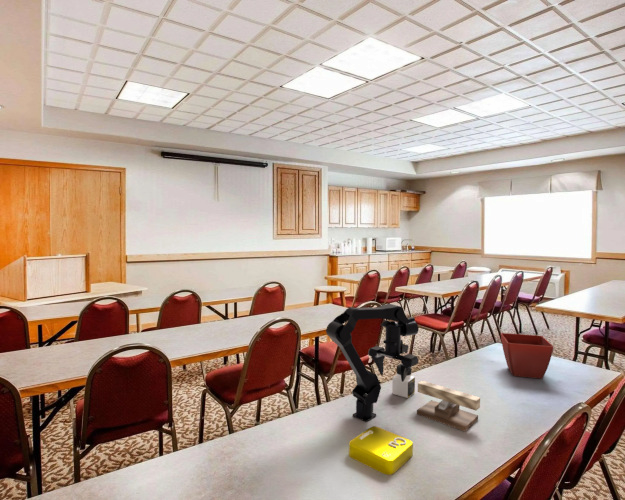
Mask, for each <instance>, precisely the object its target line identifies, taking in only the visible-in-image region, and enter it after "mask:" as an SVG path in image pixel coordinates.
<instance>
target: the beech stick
mask: <svg viewBox="0 0 625 500" xmlns="http://www.w3.org/2000/svg"><path fill="white" fill-rule="evenodd" d="M417 393H419V394H423V395H426V396H429V397H431V398H432V397H433V398H436V399H439V400H441V401H442V400H444V401H447V402H450V403H454V404H457V405H459V407H460V406H461V407H463V408H467V409H469V410H473V411H478V410H479V409H480V408H481V397H479V396H476V395H472V394H469V393H466V392H462V391H460V390H457V389H456V390H455V389H451V388H449V387H446V386H442V385H438V384H436V383H432V382H428V381H425V380H420V381H419V382H417Z"/></svg>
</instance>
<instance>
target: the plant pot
mask: <svg viewBox="0 0 625 500" xmlns="http://www.w3.org/2000/svg"><path fill="white" fill-rule="evenodd" d="M500 339H501V341H500V342H501V346H502V350H503V355H504V358H505V362H506V365H507V368H508V370H509V372H510V373H511V374H512V376H513V377H521V378H533V379H540V380H541V379H543V378H544V376H545V375H546V372H547V370H548V367H549V365H550V362H551V359H552V355H553V352H554V351H553V350H554V345H552V343H551V342H549V341H548V340H547V339H546V338H545V337H544V336H542V335H534V334H522V333H521V334H519V333H508V332H507V333H505V332H501V333H500Z"/></svg>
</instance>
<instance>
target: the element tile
mask: <svg viewBox="0 0 625 500" xmlns="http://www.w3.org/2000/svg"><path fill="white" fill-rule="evenodd" d="M413 446H414V443H413V441H412V440H411V439H408V438H406V437H404V436H401V435H399V434H397V433H394V432H392V431H389V430H386V429H384V428H383V427H382V428H381V427H379V426H376V425H375V426H374V425H373V426H370V427H369V428H368V429H366V430H364V431H363V432H361V433H360V434H358V435H357V436H355V437H354V438H353V439H351V440H350V441H349V444H348V456H349V457H350V458H351V459H353V460H355V461H357V462H358V463H361V464H362V465H365V466H367V467H368V468H371V469H374V470H375V471H377V472H380V473H381V474H382V475H383V474H384V475H387V476H391V475H394V474H395V473H396V472H397V471H399V469H401V467H403V466H404V465H405V464H406V463H407V462H408V461H409V460H410V459H411V458H412V457H413V453H414V452H413V451H414V450H413V449H414V447H413Z"/></svg>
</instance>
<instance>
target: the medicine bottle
mask: <svg viewBox="0 0 625 500" xmlns="http://www.w3.org/2000/svg"><path fill="white" fill-rule="evenodd" d="M400 365H402V363H400V364H397V365H396V375H394V376H393V377H392V379H391V380H392V385H391V386H392V387H391V390H392V391H391V392H392V395H395V396H399V397H401V398H406V399H409V398H410V397H411V396H412V395H414V394H415V391H416V389H415V388H416V387H415V385H416V384H415V383H416V376H415V375H412V367H410V368H409V370H408V372H407V375H406V377H405V380H404V381H403V382H402V380H401V366H400Z"/></svg>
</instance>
